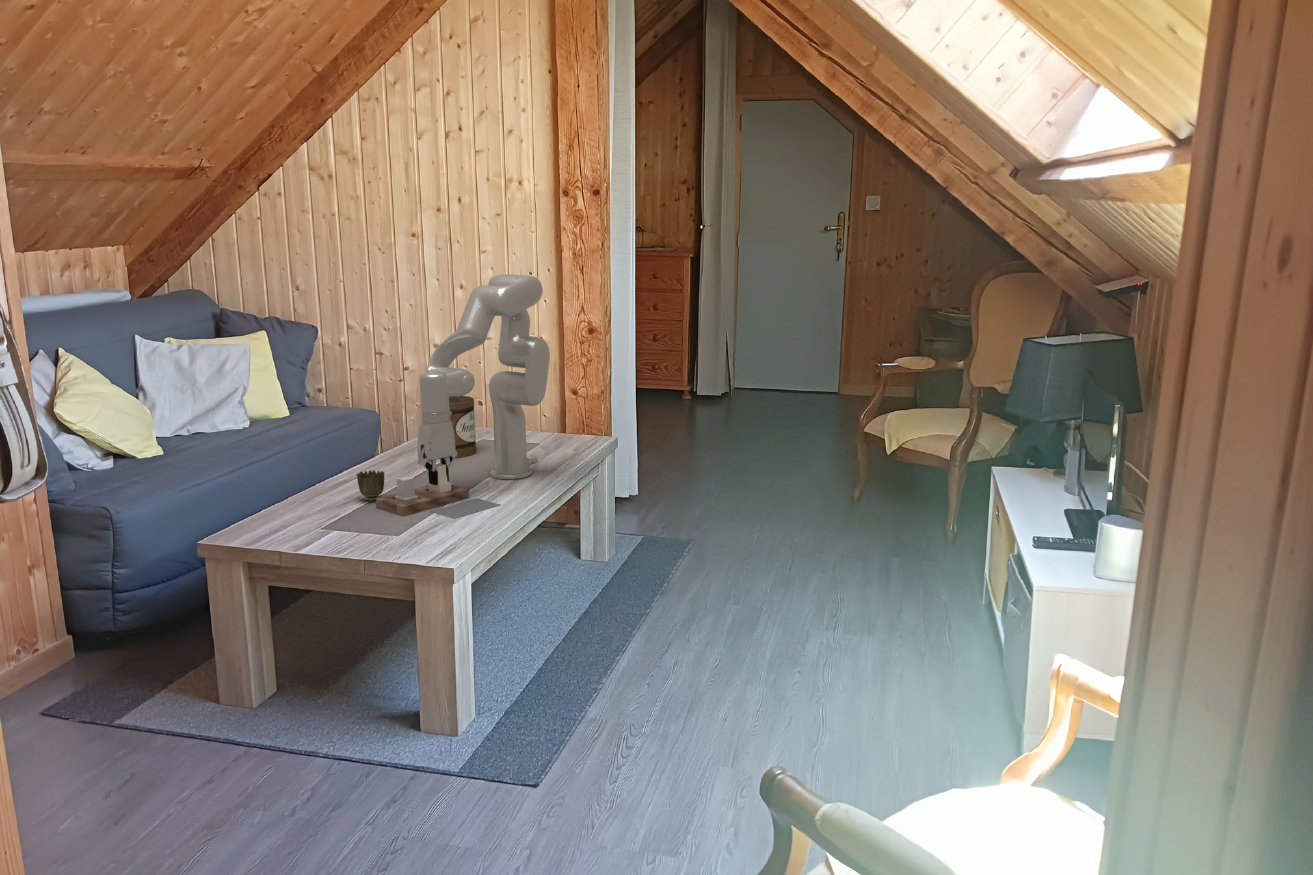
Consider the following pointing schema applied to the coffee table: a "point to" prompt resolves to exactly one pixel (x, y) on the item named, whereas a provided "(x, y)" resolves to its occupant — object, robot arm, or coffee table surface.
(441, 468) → the ivory plug
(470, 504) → the mat
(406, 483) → the grey plug
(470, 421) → the wooden container
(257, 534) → the coffee table surface
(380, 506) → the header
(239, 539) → the coffee table surface
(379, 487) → the cup
